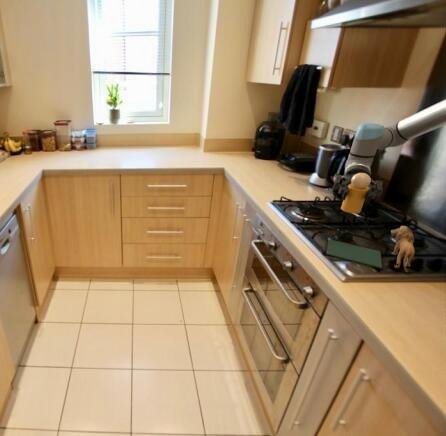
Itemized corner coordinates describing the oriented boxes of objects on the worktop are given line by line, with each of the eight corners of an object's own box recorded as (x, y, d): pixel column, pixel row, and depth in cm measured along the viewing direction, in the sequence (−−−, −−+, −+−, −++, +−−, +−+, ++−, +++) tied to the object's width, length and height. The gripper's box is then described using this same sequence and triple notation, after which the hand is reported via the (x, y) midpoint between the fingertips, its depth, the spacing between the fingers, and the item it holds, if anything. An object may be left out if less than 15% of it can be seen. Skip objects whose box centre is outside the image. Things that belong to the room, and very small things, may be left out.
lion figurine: (382, 246, 103) (392, 222, 99) (402, 249, 101) (414, 225, 97) (395, 272, 91) (408, 246, 87) (419, 276, 89) (433, 250, 85)
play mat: (379, 253, 100) (380, 251, 99) (381, 269, 92) (382, 267, 92) (328, 241, 107) (328, 239, 106) (326, 255, 99) (326, 253, 99)
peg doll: (360, 208, 102) (373, 172, 96) (360, 215, 98) (374, 177, 92) (341, 205, 105) (353, 169, 99) (340, 211, 101) (352, 174, 95)
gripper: (385, 189, 109) (390, 216, 92) (324, 180, 118) (318, 202, 101) (393, 169, 105) (400, 192, 88) (330, 160, 114) (324, 180, 97)
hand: (356, 198), depth 95 cm, fingers closed on peg doll, 5 cm apart
